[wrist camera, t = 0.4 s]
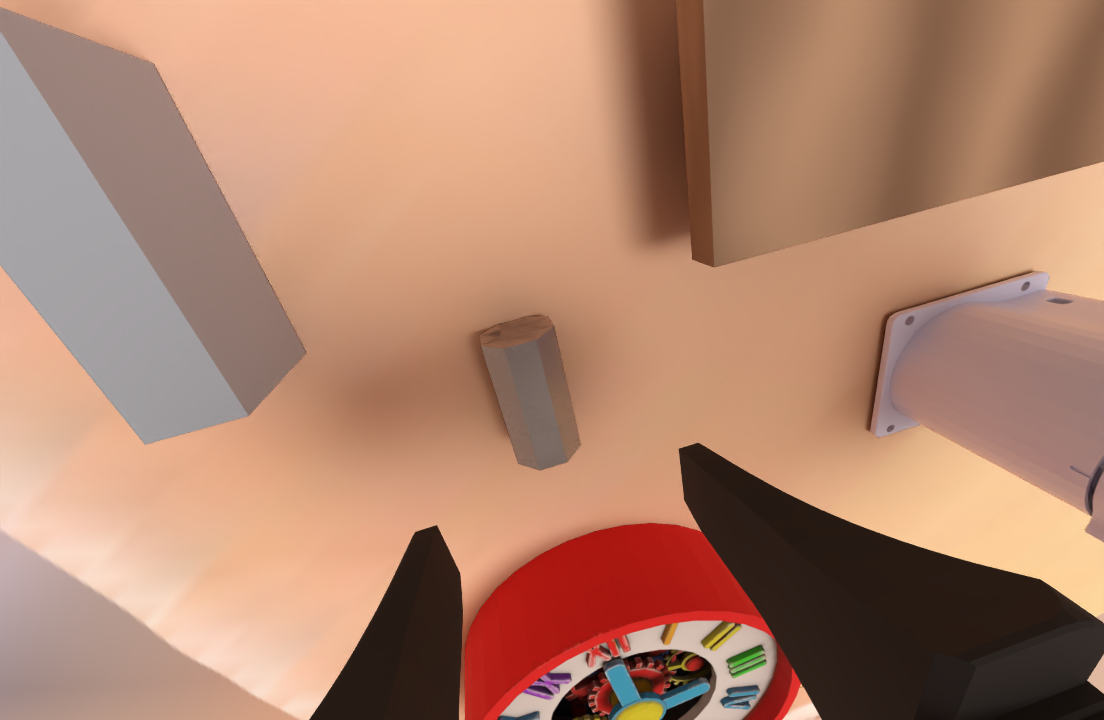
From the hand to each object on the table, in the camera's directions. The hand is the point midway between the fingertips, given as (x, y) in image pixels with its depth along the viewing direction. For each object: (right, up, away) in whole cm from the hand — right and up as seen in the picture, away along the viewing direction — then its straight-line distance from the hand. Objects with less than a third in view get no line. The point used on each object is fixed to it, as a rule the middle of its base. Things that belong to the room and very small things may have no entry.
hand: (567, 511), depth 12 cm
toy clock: (+4, -14, +17) cm, 23 cm away
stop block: (-13, +9, +3) cm, 16 cm away
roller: (-2, +4, +8) cm, 9 cm away
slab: (+12, +14, +2) cm, 18 cm away
